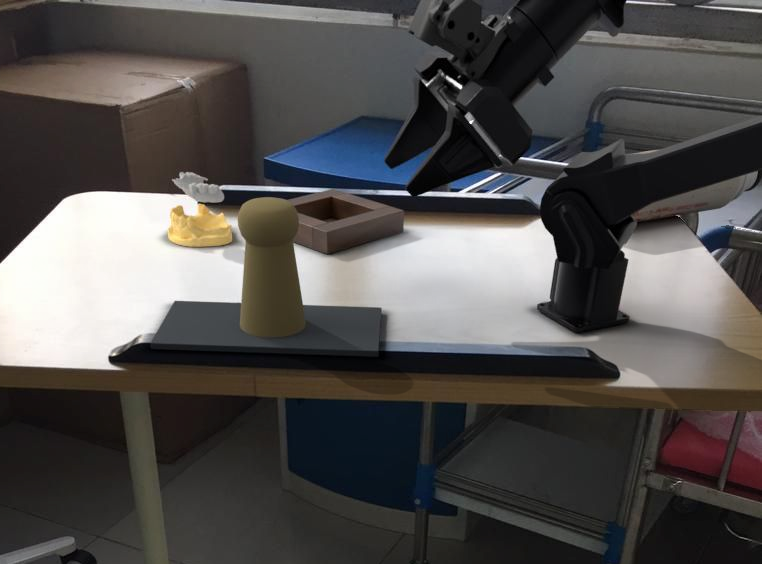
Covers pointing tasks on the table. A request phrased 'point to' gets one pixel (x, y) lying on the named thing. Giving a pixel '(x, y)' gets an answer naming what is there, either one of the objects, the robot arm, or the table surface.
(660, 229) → the table surface
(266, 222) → the cork
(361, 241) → the square wooden frame
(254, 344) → the slate mat
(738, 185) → the thermos bottle
